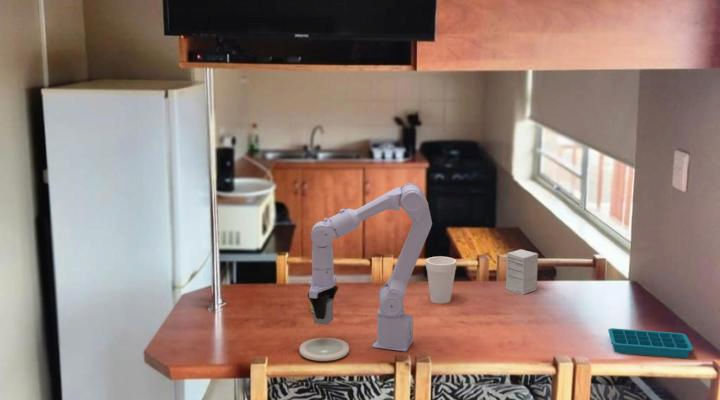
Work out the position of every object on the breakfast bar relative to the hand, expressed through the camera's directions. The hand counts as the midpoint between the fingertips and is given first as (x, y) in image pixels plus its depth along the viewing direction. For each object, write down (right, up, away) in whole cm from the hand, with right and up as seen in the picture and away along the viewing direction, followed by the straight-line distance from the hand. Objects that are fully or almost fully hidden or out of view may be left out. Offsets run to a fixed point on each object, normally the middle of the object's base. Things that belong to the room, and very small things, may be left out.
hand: (323, 315), depth 207 cm
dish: (0, -9, -4) cm, 10 cm away
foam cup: (+35, -1, +37) cm, 51 cm away
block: (0, -2, 0) cm, 2 cm away
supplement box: (+63, +1, +46) cm, 78 cm away
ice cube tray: (+87, -9, -1) cm, 88 cm away
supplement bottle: (-3, -3, +27) cm, 28 cm away
